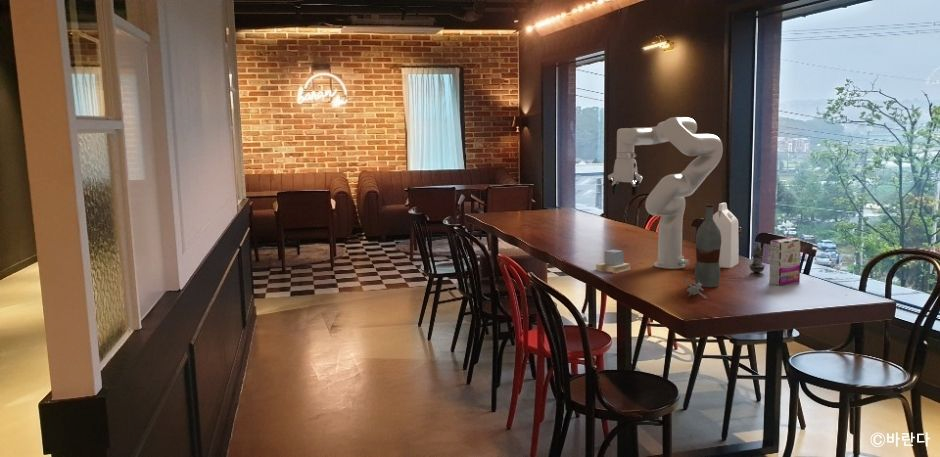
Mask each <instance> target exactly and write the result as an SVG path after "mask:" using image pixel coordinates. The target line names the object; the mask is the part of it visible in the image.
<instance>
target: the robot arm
mask: <svg viewBox="0 0 940 457" xmlns="http://www.w3.org/2000/svg"><path fill="white" fill-rule="evenodd" d="M697 131H698V124H697V122H696V121H695V120H694V119H693V118H691V117H688V116H675V117H669V118H667V119H666V120H663V121H661V122H658V124H657V125H656V126H650V127H631V128H628V127H625V128H623V127H622V128H619V129H617V131H616V159H615V160H614V165H613V171H612V173H610V174H608V175H607V178H608V180H609V182H610V183H611V184H610V185H611V186H612V195H613V196H614V195H618V194H619V185H618V184H619V183H621V182H622V183H630V184H631V185H632V186H631V196H632V197H635V196H637V195H638V187H639V185H640V184H642V180H643V178H644V177H643V176H642V175H641V174H639V173H638V172H639V171H638V166H637V165H638V164H637V160H636V159H635V158H636V157H637V154H636V153H635V146H642V145H643V146H646V145H647V146H649V145H651V146H652V145H657V144H663V143H667V142H670V144H671V145H672V146H674V147H675V148H676V149H677V150H678V151H679V152H681V153H682V154H683V155H685V156H688V157H696V158H694V159H693V160H692V161H691V162H690V163H689V164H688V165H687V166H686V168H684V170H682V171H681V172H679V173H673V174H672V173H671V174H668V175H665V176H664V177H662V178H660V180H659V181H658V183H657V184H656V185H655V187H654V188H653V189H652V190H651V191H650V193H649V194H648V196H647V197H646V200H645V204H644V205H645V210H646V211H647V213H648V214H649V215H651V216H655V217H657V216H659V217H660V218H659V221H658V242H657V243H658V244H657V246H658V248H657V261H655V262H653V267H656V268H658V269H659V268H660V269H667V270H677V269H684V268H685V267H686V265H687V266H689V265H690V263H691V260H690V259H685V256H684V255H683V253H682V252H683V250H682V249H683V246H682V245H683V222H684V221H683V220H684V219H683V218H684V214H685V209H686V197H690V196H691V195H693V194H694V193H695V191H696V190H698V188H699V187H700V185H701V184H702V183H703V182H704V181H705V180H706V178H707V177H708V176H710V174H711V173H712V171H713V170H715V169H716V167H717V166H718V165H719V163H720V161H721V159H722V157H723V151H724V147H723V146H724V145H723V142H722V139H720V137H718V136H717V135H715V134H712V133H697Z"/></svg>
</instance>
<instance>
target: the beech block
mask: <svg viewBox="0 0 940 457" xmlns="http://www.w3.org/2000/svg"><path fill="white" fill-rule="evenodd" d="M595 270H596V271H600V272H605V273H611V272H612V273H613V274H619V273H622V272H623V273H624V272H626V271H631V263H626V262H623V264H621V265H617V266H613V265H606V264H604V261H603V262H601V263H596V264H595Z"/></svg>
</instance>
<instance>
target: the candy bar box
mask: <svg viewBox="0 0 940 457" xmlns="http://www.w3.org/2000/svg"><path fill="white" fill-rule="evenodd" d="M769 244H770V247H769V249H770V250H769V281H768V282H769V283H768V284H770V285H773V286H779V287H780V286H786V285H792V284H797V283H800V279H801V278H800V277H801V275H800V274H801V248H802V246H801V245H802V240H801V239H800V238H796V237H795V238H794V237H789V238H782V239H781V238H780V239H774V240H773V239H772V240H770V243H769Z"/></svg>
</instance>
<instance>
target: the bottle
mask: <svg viewBox="0 0 940 457" xmlns="http://www.w3.org/2000/svg"><path fill="white" fill-rule="evenodd" d="M713 215H714V204H712V203H706V204H705V218H704V220H703V221H702V223H701V224H700V225H699V227H698V228H697V231H696V233H695V239H694V240H695V256H696V258H695V259H696V262H695V265H694V266H695V268H694V275H693V276H694V282H695V283H696V284H698V283H701V284H702V285H701V288H702V287H703V288H716V287H719V285H720V281H721V280H720V279H721V267H720V265H719V258H720V248H721V242H722V240H721V233H720V230H719V228H718V227H717V225H716V223H715V222H714V220H713ZM699 281H700V282H699Z"/></svg>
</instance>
